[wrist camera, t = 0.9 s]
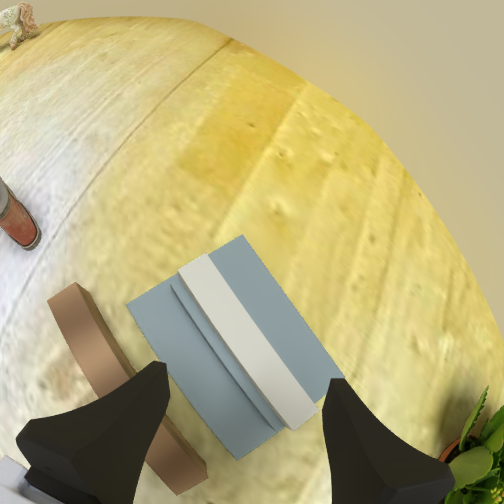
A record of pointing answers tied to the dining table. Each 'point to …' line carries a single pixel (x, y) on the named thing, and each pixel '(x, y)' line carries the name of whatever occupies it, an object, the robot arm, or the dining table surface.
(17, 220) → the lighter
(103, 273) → the dining table surface
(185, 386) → the ridge stand
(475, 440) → the potted flower
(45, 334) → the dining table surface
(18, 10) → the unicorn figurine
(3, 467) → the robot arm
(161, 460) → the walnut bar
